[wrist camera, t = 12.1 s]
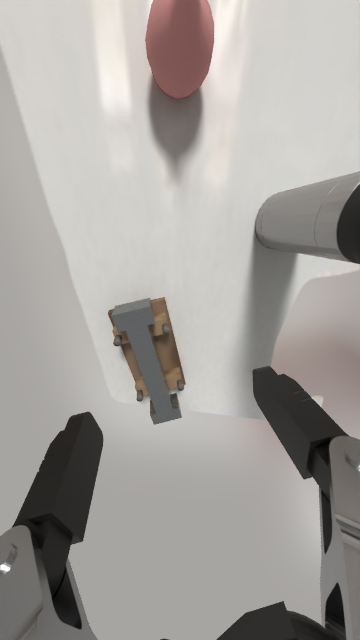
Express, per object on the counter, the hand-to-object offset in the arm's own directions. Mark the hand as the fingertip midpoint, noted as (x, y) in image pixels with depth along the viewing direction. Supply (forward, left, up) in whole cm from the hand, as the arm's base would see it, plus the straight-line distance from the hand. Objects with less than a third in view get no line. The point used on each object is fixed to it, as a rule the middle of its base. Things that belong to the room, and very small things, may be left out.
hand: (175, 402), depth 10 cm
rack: (+5, +16, -30) cm, 34 cm away
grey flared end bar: (+5, +16, -26) cm, 31 cm away
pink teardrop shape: (-9, -25, -30) cm, 40 cm away
